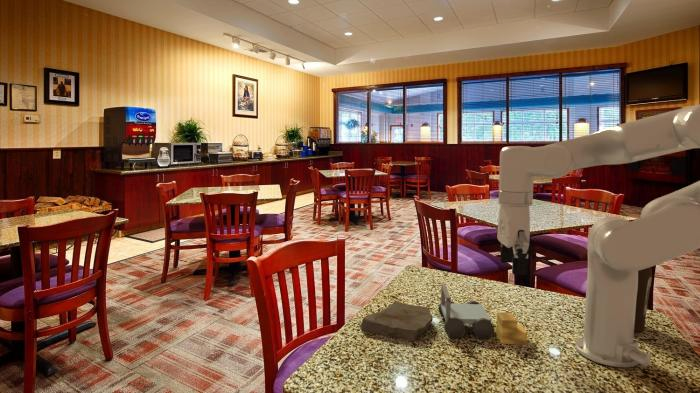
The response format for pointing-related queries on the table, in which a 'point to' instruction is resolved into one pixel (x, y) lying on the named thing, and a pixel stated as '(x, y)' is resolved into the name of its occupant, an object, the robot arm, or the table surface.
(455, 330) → the trolley
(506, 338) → the orange block
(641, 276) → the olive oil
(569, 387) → the table surface
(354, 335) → the table surface
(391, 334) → the marble piece
